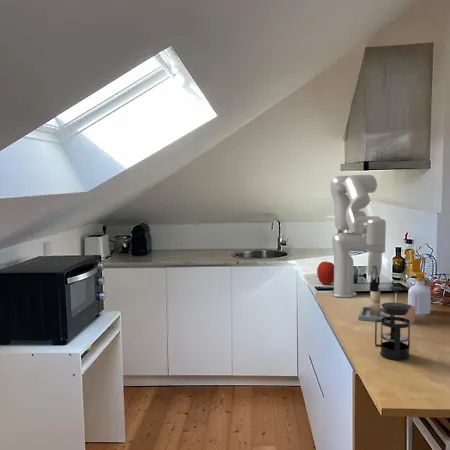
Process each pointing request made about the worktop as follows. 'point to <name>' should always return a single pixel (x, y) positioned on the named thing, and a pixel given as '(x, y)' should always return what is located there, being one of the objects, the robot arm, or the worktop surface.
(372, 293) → the dowel
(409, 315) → the cup
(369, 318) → the tray
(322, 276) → the apple
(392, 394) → the worktop surface
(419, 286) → the soap bottle
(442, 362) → the worktop surface
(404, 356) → the french press
